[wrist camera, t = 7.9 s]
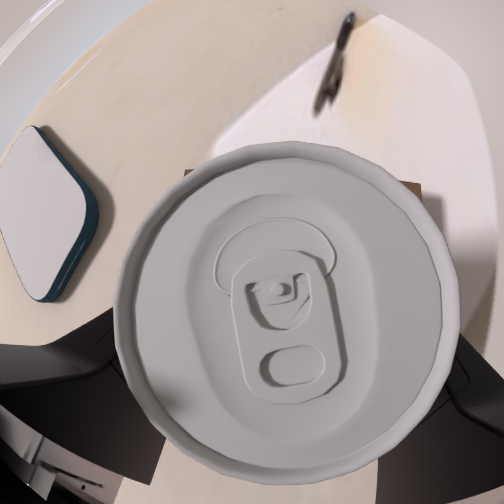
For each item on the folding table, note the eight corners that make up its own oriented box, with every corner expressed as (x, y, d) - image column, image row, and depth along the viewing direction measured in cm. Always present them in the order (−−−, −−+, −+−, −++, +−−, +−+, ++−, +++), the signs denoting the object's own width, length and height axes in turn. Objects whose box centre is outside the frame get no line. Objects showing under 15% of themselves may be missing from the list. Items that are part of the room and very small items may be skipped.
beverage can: (328, 252, 15) (407, 112, 3) (345, 338, 14) (470, 437, 2) (243, 270, 15) (96, 186, 4) (259, 355, 14) (150, 487, 3)
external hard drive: (-2, 194, 25) (-12, 190, 23) (38, 124, 25) (29, 118, 23) (54, 317, 19) (38, 317, 17) (115, 212, 20) (100, 205, 18)
